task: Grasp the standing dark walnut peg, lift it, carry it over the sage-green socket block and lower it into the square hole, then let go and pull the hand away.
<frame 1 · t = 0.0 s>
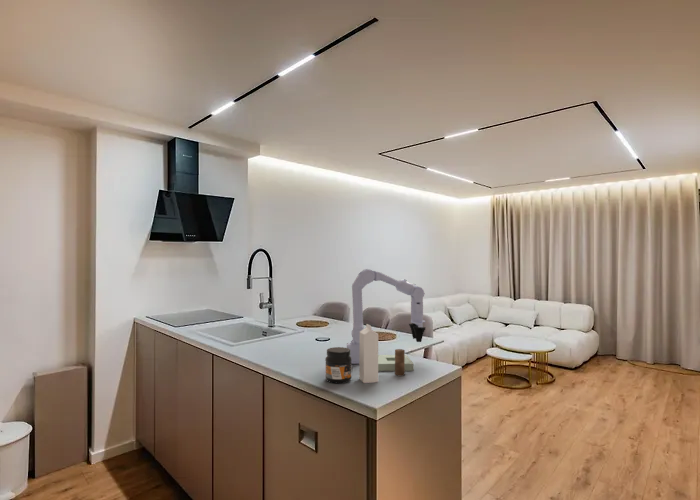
hand: (417, 340, 177), 10 cm above the worktop, tool pointing down, fingers open, 7 cm apart
peg: (399, 374, 156), on the worktop
supplement container: (338, 380, 148), on the worktop
milk: (368, 380, 147), on the worktop
socket block: (392, 365, 169), on the worktop
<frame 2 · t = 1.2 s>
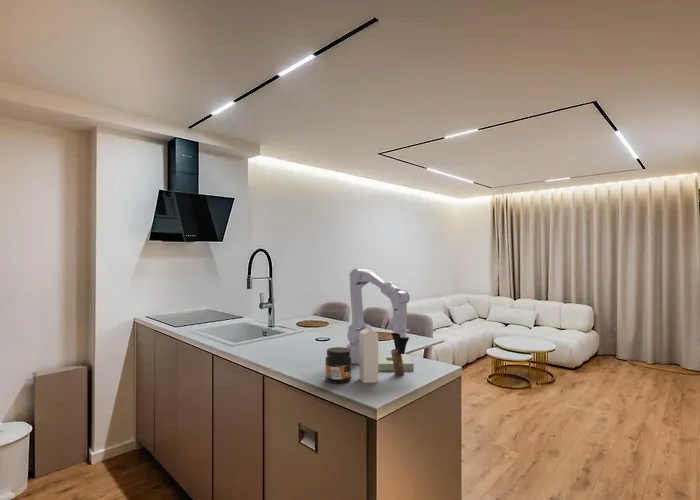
hand: (399, 351, 156), 9 cm above the worktop, tool pointing down, fingers open, 7 cm apart
peg: (399, 373, 156), on the worktop, tilted 14°
everything else where it was.
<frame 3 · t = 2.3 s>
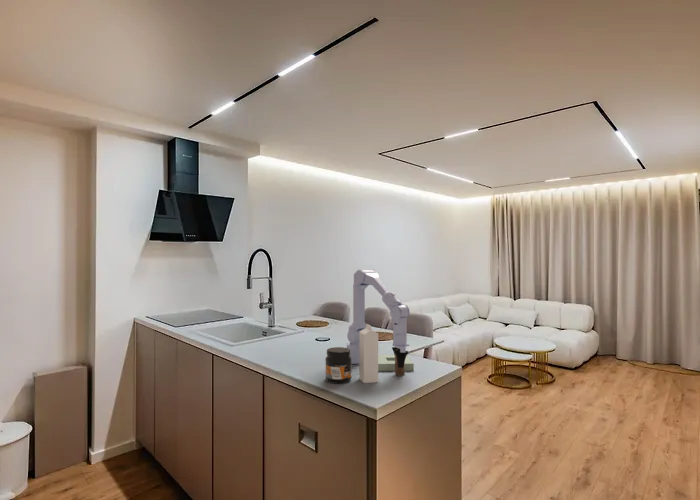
hand: (399, 365, 156), 3 cm above the worktop, tool pointing down, fingers closed on peg, 4 cm apart
peg: (399, 374, 156), on the worktop, touching gripper
everything else where it was.
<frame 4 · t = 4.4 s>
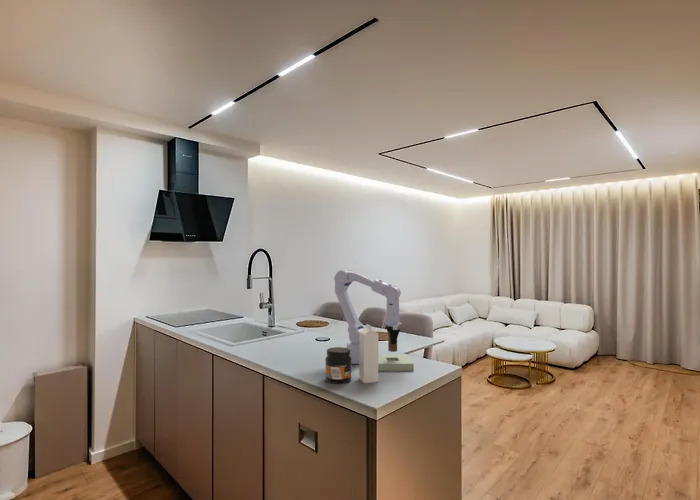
hand: (392, 343, 169), 10 cm above the worktop, tool pointing down, fingers closed on peg, 4 cm apart
peg: (392, 350, 168), point 7 cm above the worktop, touching gripper
everything else where it was.
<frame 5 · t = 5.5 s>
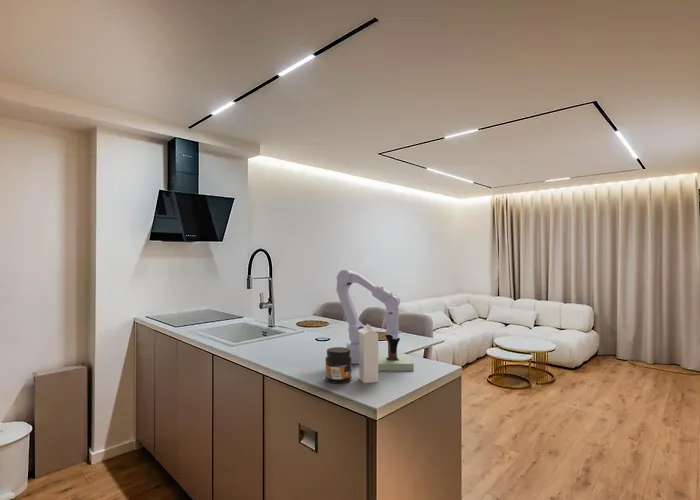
hand: (392, 351, 169), 6 cm above the worktop, tool pointing down, fingers closed on peg, 4 cm apart
peg: (392, 359, 169), point 3 cm above the worktop, touching gripper
everything else where it was.
when the fingers open (4 cm above the worktop, at t = 6.4 s): peg drops 1 cm, resting in socket block.
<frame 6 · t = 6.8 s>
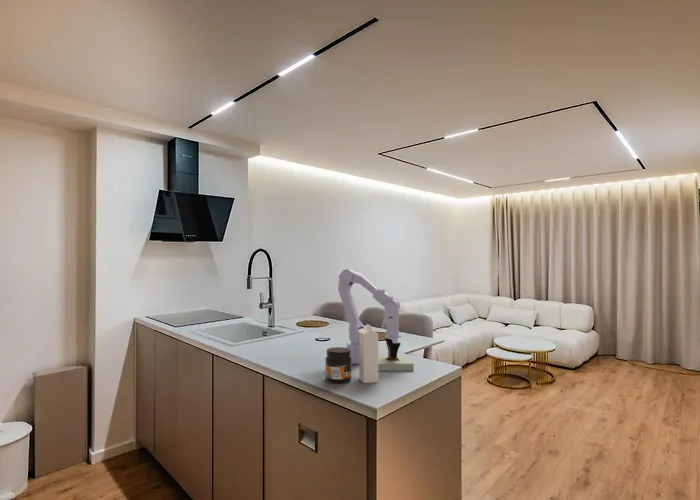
hand: (392, 355, 169), 4 cm above the worktop, tool pointing down, fingers open, 7 cm apart
peg: (392, 365, 169), resting in socket block
everything else where it was.
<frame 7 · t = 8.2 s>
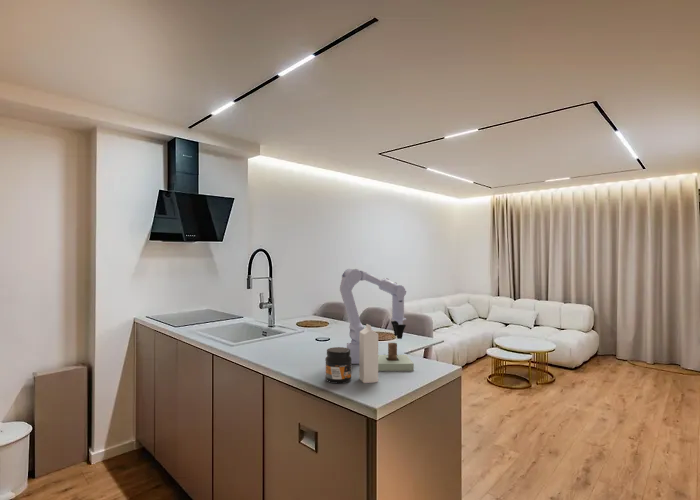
hand: (398, 337, 182), 10 cm above the worktop, tool pointing down, fingers open, 7 cm apart
nothing on the worktop moved.
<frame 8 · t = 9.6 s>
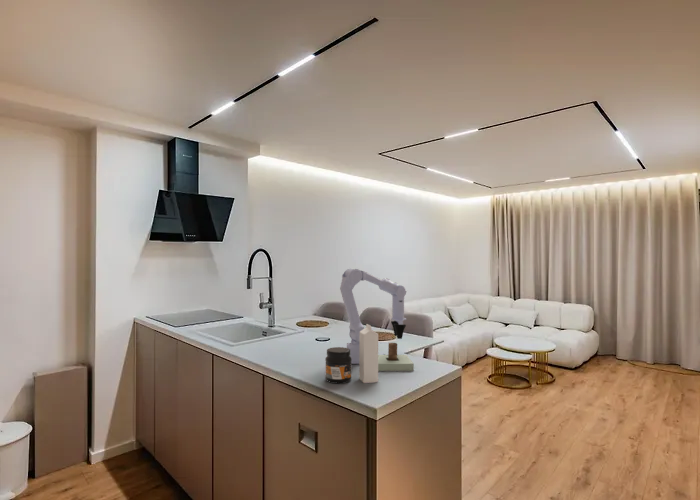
hand: (398, 337, 183), 10 cm above the worktop, tool pointing down, fingers open, 7 cm apart
nothing on the worktop moved.
at the end: peg 0.1 cm off-centre on the socket block, point 0.0 cm above the socket block's base; peg tilted 1°; the gripper is holding nothing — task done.
